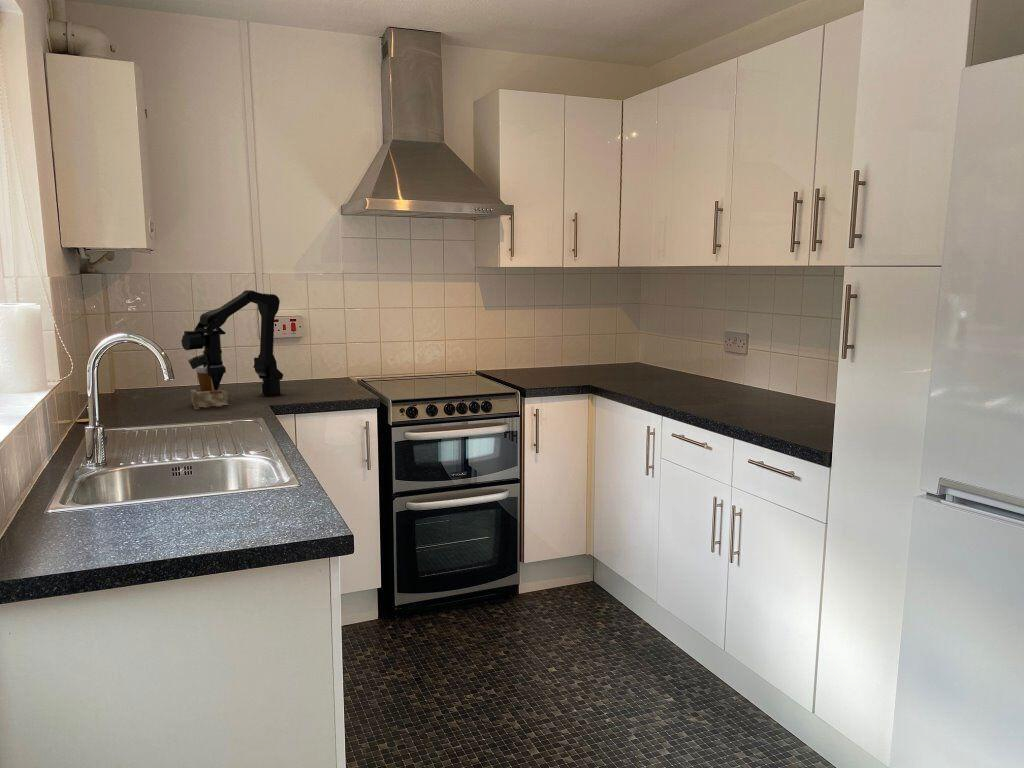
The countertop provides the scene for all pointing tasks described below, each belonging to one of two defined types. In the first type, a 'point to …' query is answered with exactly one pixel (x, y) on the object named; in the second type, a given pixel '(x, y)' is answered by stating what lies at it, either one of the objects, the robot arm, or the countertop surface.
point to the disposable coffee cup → (204, 379)
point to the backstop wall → (195, 399)
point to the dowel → (213, 389)
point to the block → (212, 398)
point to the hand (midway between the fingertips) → (215, 389)
